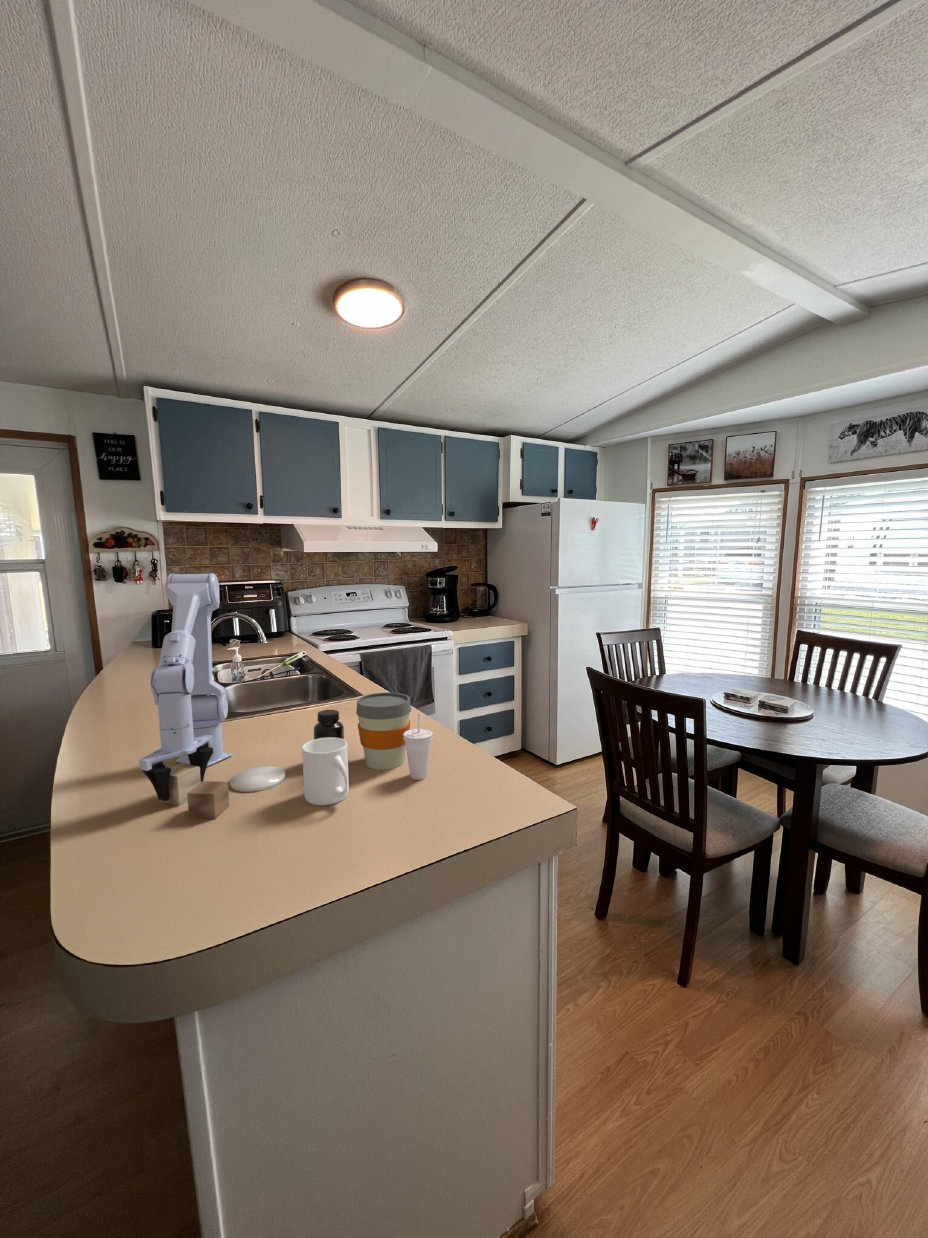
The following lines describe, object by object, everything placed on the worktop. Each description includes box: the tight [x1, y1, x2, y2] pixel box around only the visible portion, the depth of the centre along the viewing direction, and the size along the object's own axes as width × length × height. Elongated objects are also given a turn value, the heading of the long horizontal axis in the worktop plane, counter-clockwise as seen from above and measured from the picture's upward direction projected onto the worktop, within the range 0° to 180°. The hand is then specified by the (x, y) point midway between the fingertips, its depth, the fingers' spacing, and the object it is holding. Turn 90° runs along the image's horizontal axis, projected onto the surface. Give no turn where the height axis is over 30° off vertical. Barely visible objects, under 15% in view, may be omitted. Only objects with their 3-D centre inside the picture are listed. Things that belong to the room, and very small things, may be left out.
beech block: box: [161, 763, 201, 807], centre depth 102 cm, size 5×5×6 cm
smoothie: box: [403, 712, 434, 781], centre depth 111 cm, size 6×6×14 cm
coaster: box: [229, 765, 286, 793], centre depth 110 cm, size 11×11×1 cm
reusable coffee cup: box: [356, 692, 412, 771], centre depth 118 cm, size 13×12×15 cm
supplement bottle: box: [313, 709, 345, 740], centre depth 119 cm, size 7×7×12 cm
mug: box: [301, 737, 350, 807], centre depth 100 cm, size 9×12×11 cm
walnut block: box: [187, 780, 230, 820], centre depth 96 cm, size 5×5×5 cm
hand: (181, 791), depth 102 cm, fingers open, 7 cm apart
